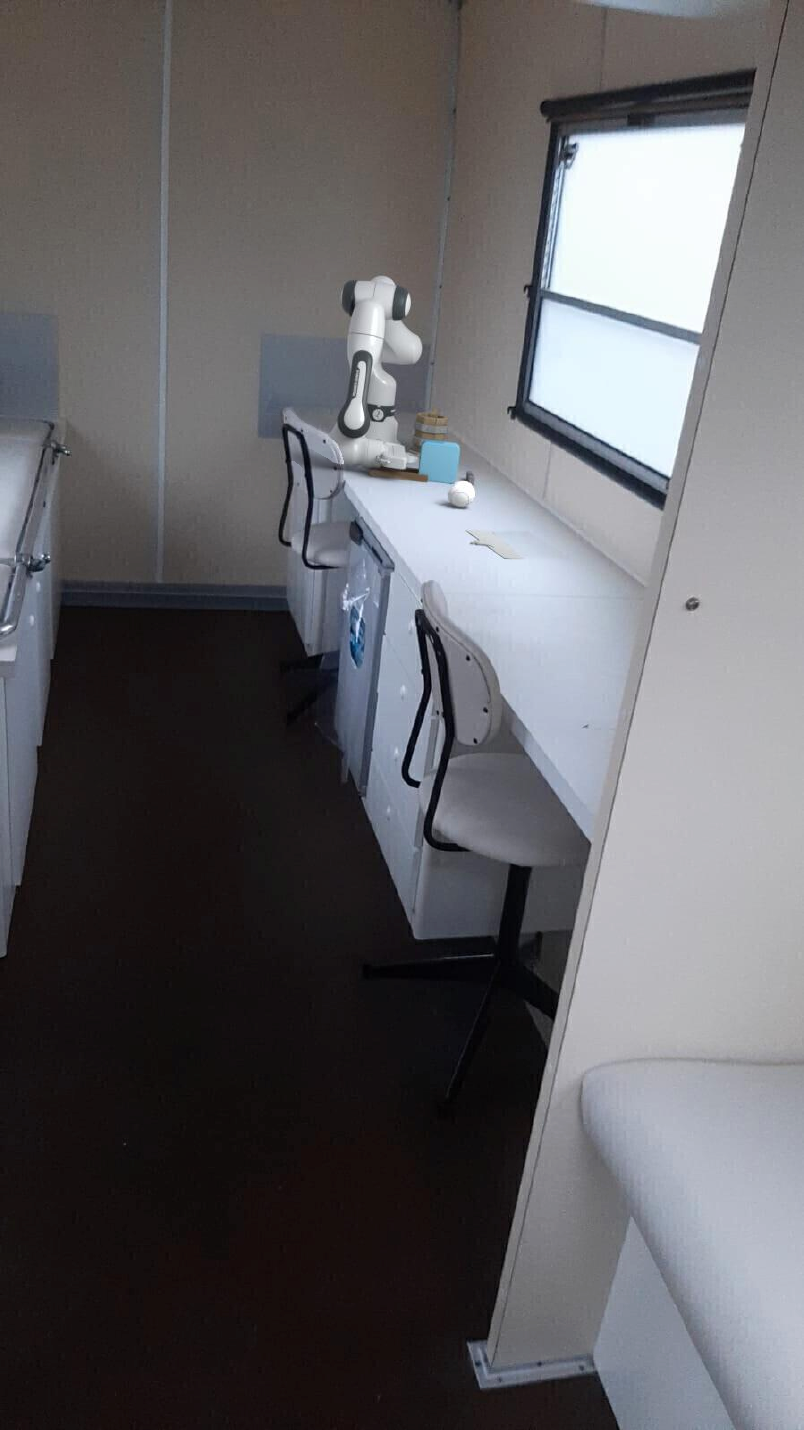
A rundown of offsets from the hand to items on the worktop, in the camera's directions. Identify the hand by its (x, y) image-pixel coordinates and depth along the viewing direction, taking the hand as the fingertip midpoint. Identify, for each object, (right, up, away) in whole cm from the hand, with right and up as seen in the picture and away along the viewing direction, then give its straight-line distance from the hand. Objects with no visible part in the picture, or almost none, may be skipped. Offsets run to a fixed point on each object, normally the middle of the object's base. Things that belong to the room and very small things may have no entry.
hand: (419, 459), depth 356 cm
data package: (+5, -6, +3) cm, 9 cm away
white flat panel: (+23, -36, -56) cm, 71 cm away
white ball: (+11, -20, -26) cm, 34 cm away
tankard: (+4, +10, +39) cm, 40 cm away
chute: (0, -6, +3) cm, 6 cm away
